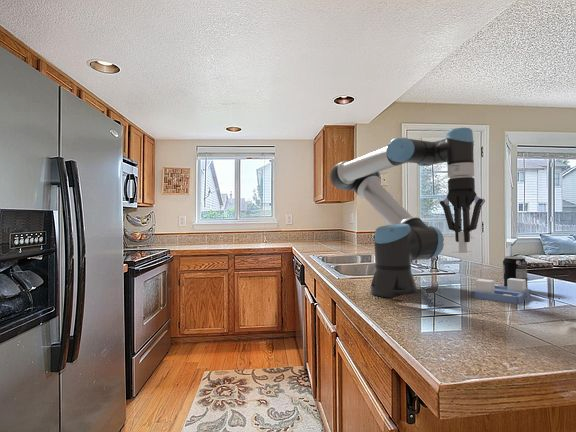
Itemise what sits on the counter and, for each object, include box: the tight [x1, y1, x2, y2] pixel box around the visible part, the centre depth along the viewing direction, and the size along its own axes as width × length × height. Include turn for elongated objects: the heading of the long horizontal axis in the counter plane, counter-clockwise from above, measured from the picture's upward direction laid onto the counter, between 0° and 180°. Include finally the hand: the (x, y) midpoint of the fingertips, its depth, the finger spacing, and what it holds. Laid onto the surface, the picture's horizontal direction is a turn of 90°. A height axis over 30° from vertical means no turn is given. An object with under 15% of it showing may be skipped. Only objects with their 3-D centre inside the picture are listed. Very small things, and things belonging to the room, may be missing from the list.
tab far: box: [507, 278, 526, 292], centre depth 102 cm, size 4×4×5 cm
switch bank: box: [471, 284, 531, 305], centre depth 102 cm, size 12×14×3 cm
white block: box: [475, 278, 496, 293], centre depth 102 cm, size 4×4×5 cm
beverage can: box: [502, 255, 529, 289], centre depth 111 cm, size 7×7×12 cm
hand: (463, 252), depth 106 cm, fingers closed
